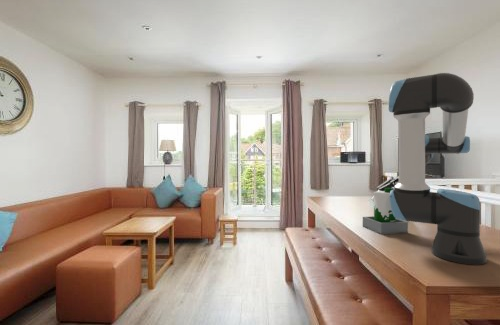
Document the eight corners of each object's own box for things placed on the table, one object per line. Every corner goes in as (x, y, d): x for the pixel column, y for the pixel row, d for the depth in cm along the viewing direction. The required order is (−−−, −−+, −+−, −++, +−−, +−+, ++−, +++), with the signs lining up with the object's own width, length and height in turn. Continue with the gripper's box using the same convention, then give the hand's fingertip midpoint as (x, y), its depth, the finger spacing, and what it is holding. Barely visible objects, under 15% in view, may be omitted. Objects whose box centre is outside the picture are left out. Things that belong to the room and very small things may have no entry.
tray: (407, 232, 119) (407, 222, 119) (381, 234, 117) (381, 223, 117) (386, 225, 133) (386, 215, 133) (362, 226, 131) (362, 216, 131)
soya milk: (390, 231, 119) (390, 189, 118) (371, 227, 126) (371, 187, 125) (398, 228, 124) (398, 187, 124) (379, 225, 131) (379, 186, 131)
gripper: (435, 179, 115) (406, 213, 113) (394, 175, 140) (370, 203, 137) (425, 167, 114) (396, 201, 112) (386, 166, 139) (361, 194, 137)
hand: (381, 202), depth 125 cm, fingers open, 13 cm apart
